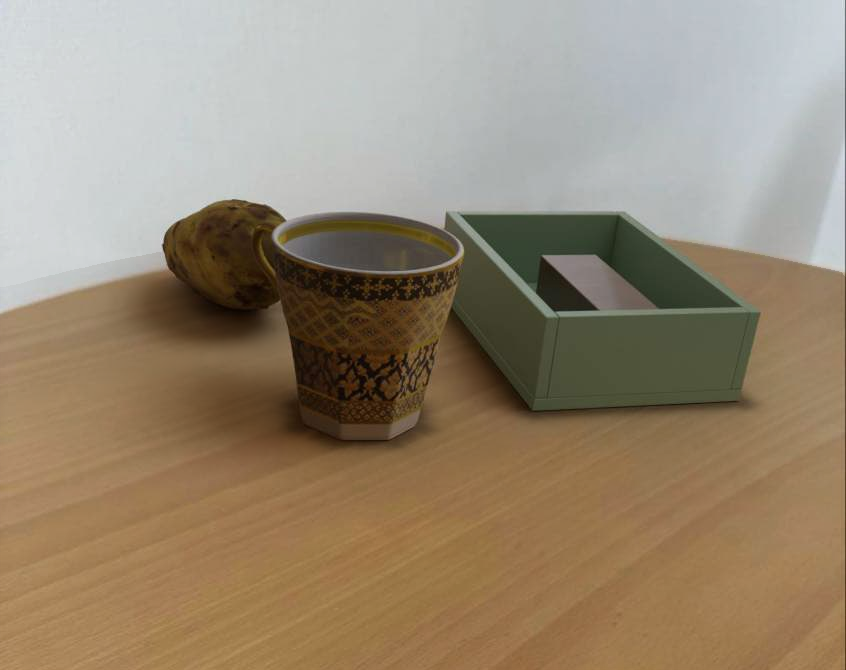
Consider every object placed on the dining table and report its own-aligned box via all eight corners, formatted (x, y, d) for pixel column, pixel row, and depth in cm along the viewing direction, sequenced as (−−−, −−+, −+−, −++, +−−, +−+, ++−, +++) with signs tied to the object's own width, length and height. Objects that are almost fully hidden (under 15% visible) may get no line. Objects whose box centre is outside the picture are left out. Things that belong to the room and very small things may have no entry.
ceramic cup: (480, 415, 66) (501, 244, 61) (372, 476, 59) (385, 288, 54) (308, 349, 72) (313, 188, 67) (191, 397, 65) (187, 221, 60)
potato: (280, 276, 83) (282, 163, 78) (307, 348, 72) (311, 221, 68) (162, 276, 81) (157, 160, 76) (171, 350, 70) (167, 219, 66)
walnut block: (596, 254, 78) (675, 321, 68) (586, 310, 80) (662, 384, 70) (540, 254, 76) (613, 323, 67) (532, 312, 79) (601, 386, 69)
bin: (611, 287, 86) (624, 211, 83) (739, 401, 71) (761, 311, 68) (438, 291, 83) (445, 210, 80) (532, 411, 67) (546, 317, 64)
